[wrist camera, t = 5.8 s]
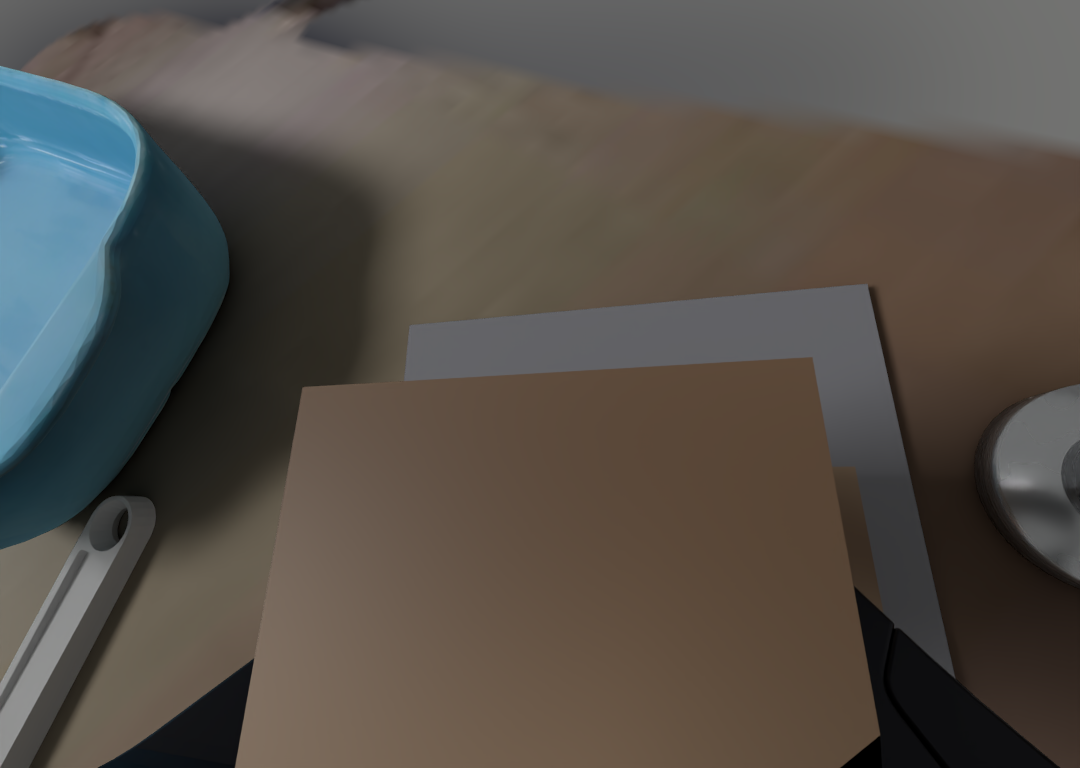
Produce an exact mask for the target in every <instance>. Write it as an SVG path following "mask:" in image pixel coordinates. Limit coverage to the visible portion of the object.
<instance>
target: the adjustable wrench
mask: <svg viewBox="0 0 1080 768" xmlns="http://www.w3.org/2000/svg"><path fill="white" fill-rule="evenodd" d="M126 510H128V518H129V519H128V525H127V528H126V531H125V533H124V535H123V537H122V538H121V540H119V538H118V531H117V530H118V524H119V521H120V519H121V517H122V515H123V514H124V512H125V511H126ZM155 520H156V512H155V507H154V505H153V503H152V502H151V501H150V500H149V499H148V498H146V497H142V496H113V497H110V498H108V499H106V500H104V501H103V502H102V503H101V504H100V505H99V506H97V508H96V509H95V511H94V512H93V514H92V515H91V517H90V519H89V520H88V522H87V524H86V526H85V528H84V530H83V532H82V533H81V535H80V537H79V539H78V541H77V543H76V544H75V546H74V548H73V550H72V552H71V554H70V556H69V557H68V559H67V561H66V563H65V565H64V567H63V568H62V570H61V572H60V574H59V576H58V578H57V580H56V581H55V583H54V585H53V587H52V589H51V591H50V592H49V594H48V596H47V598H46V600H45V602H44V604H43V605H42V607H41V609H40V611H39V613H38V615H37V616H36V618H35V620H34V622H33V624H32V626H31V628H30V629H29V631H28V633H27V635H26V637H25V639H24V640H23V642H22V644H21V646H20V648H19V650H18V652H17V653H16V655H15V657H14V659H13V661H12V663H11V664H10V666H9V668H8V670H7V672H6V674H5V676H4V677H3V679H2V681H1V683H0V768H29V767H30V765H31V763H32V761H33V759H34V757H35V755H36V753H37V751H38V749H39V747H40V746H41V744H42V742H43V740H44V738H45V736H46V734H47V732H48V730H49V728H50V727H51V725H52V723H53V721H54V719H55V717H56V715H57V713H58V711H59V709H60V708H61V706H62V704H63V702H64V700H65V698H66V696H67V694H68V692H69V690H70V689H71V687H72V685H73V683H74V681H75V679H76V677H77V675H78V673H79V671H80V669H81V668H82V666H83V664H84V662H85V660H86V658H87V656H88V654H89V652H90V650H91V649H92V647H93V645H94V643H95V641H96V639H97V637H98V635H99V633H100V631H101V630H102V628H103V626H104V624H105V622H106V620H107V618H108V616H109V614H110V612H111V611H112V609H113V607H114V605H115V603H116V601H117V599H118V597H119V595H120V593H121V592H122V590H123V588H124V586H125V584H126V582H127V580H128V578H129V576H130V574H131V572H132V571H133V569H134V567H135V565H136V563H137V561H138V559H139V557H140V555H141V553H142V552H143V550H144V548H145V546H146V544H147V542H148V540H149V538H150V536H151V534H152V532H153V529H154V526H155Z"/></svg>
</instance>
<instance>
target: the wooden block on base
mask: <svg viewBox="0 0 1080 768" xmlns="http://www.w3.org/2000/svg"><path fill="white" fill-rule="evenodd" d="M853 585H854V586H855V587H856V588H857V589H858V590H859V591H860V592H861V593H862V594H864V595H865V596H866V597H867V598H868V599H869V600H870V601H871V602H872V603H873V604H874V605H875V606H876V607H878V608H879V609H880V610H881V611H882V612H883V607H882V602H881V597H880V592H879V587H878V582H877V577H876V571H875V566H874V561H873V556H872V551H871V546H870V541H869V535H868V530H867V525H866V520H865V515H864V510H863V505H862V500H861V494H860V489H859V484H858V479H857V474H856V469H855V467H832V463H831V458H830V452H829V447H828V441H827V435H826V430H825V424H824V419H823V413H822V408H821V402H820V396H819V391H818V385H817V380H816V374H815V369H814V363H813V357H805V358H788V359H771V360H754V361H737V362H720V363H703V364H686V365H669V366H652V367H635V368H618V369H601V370H584V371H567V372H550V373H533V374H516V375H499V376H482V377H465V378H448V379H431V380H414V381H397V382H380V383H363V384H346V385H329V386H312V387H303V388H302V394H301V399H300V405H299V410H298V416H297V422H296V427H295V433H294V439H293V444H292V450H291V455H290V461H289V467H288V472H287V478H286V484H285V489H284V495H283V500H282V506H281V512H280V517H279V523H278V529H277V534H276V540H275V545H274V551H273V557H272V562H271V568H270V574H269V579H268V585H267V590H266V596H265V602H264V607H263V613H262V619H261V624H260V630H259V635H258V641H257V647H256V652H255V658H254V664H253V669H252V675H251V680H250V686H249V692H248V697H247V703H246V709H245V714H244V720H243V725H242V731H241V737H240V742H239V748H238V754H237V759H236V765H235V768H882V758H881V739H880V731H879V725H878V719H877V714H876V708H875V703H874V697H873V692H872V686H871V680H870V675H869V669H868V664H867V658H866V653H865V647H864V641H863V636H862V630H861V625H860V619H859V614H858V608H857V603H856V597H855V591H854V586H853Z"/></svg>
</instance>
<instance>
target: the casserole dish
mask: <svg viewBox="0 0 1080 768" xmlns="http://www.w3.org/2000/svg"><path fill="white" fill-rule="evenodd" d="M229 274H230V271H229V254H228V244H227V241H226V237H225V234H224V232H223V229H222V227H221V225H220V223H219V221H218V219H217V217H216V216H215V214H214V212H213V211H212V210H211V208H210V207H209V205H208V204H207V202H206V201H205V200H204V198H203V197H202V196H201V195H200V193H199V192H198V191H197V190H196V188H195V187H194V186H193V185H192V183H191V182H190V181H189V180H188V179H187V177H186V176H185V175H184V174H183V173H182V172H181V171H180V169H179V168H178V167H177V166H176V165H175V164H174V163H173V162H172V161H171V159H170V158H169V157H168V156H167V155H166V154H165V153H164V152H163V151H162V149H161V148H160V147H159V146H158V145H157V144H156V143H155V141H154V140H153V139H152V138H151V137H150V135H149V134H148V133H147V132H146V130H145V129H144V128H143V127H142V126H141V124H140V123H139V122H138V121H137V120H136V119H135V118H134V117H133V116H132V115H131V114H130V113H129V112H128V111H127V110H126V109H124V108H123V107H122V106H120V105H119V104H117V103H116V102H114V101H112V100H110V99H108V98H107V97H105V96H103V95H101V94H98V93H95V92H92V91H89V90H87V89H83V88H80V87H77V86H74V85H70V84H67V83H64V82H61V81H57V80H53V79H49V78H45V77H41V76H37V75H33V74H29V73H25V72H22V71H18V70H14V69H10V68H6V67H2V66H0V549H3V548H6V547H9V546H13V545H16V544H19V543H22V542H25V541H27V540H29V539H32V538H34V537H36V536H39V535H41V534H43V533H46V532H48V531H50V530H52V529H54V528H56V527H58V526H60V525H61V524H63V523H65V522H66V521H68V520H69V519H71V518H73V517H74V516H75V515H77V514H78V513H79V512H81V511H82V510H83V509H84V508H85V507H86V506H87V505H88V504H90V503H91V502H92V501H93V500H94V499H95V498H96V497H97V496H98V495H99V494H100V493H101V492H102V491H103V490H104V489H105V488H106V487H107V486H108V485H109V484H110V482H111V481H112V480H113V479H114V478H115V477H116V476H117V475H118V474H119V472H120V471H121V470H122V468H123V467H124V466H125V464H126V463H127V462H128V460H129V459H130V458H131V456H132V455H133V454H134V452H135V450H136V449H137V447H138V446H139V444H140V443H141V441H142V440H143V438H144V437H145V435H146V433H147V432H148V430H149V429H150V427H151V426H152V424H153V423H154V421H155V419H156V418H157V416H158V415H159V413H160V412H161V410H162V409H163V407H164V405H165V403H166V402H167V400H168V398H169V396H170V391H171V389H172V387H173V386H174V385H175V384H176V383H177V382H178V381H179V379H180V378H181V376H182V374H183V373H184V371H185V369H186V368H187V366H188V364H189V363H190V361H191V359H192V358H193V356H194V354H195V353H196V351H197V349H198V347H199V346H200V344H201V342H202V341H203V339H204V337H205V336H206V334H207V332H208V330H209V328H210V326H211V324H212V322H213V321H214V319H215V317H216V315H217V312H218V310H219V308H220V306H221V304H222V301H223V299H224V296H225V293H226V291H227V287H228V284H229Z"/></svg>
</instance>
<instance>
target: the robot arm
mask: <svg viewBox="0 0 1080 768" xmlns="http://www.w3.org/2000/svg"><path fill="white" fill-rule="evenodd" d="M853 586H854V585H853ZM854 591H855V597H856V603H857V608H858V614H859V619H860V625H861V630H862V636H863V641H864V647H865V653H866V658H867V664H868V669H869V675H870V680H871V686H872V692H873V697H874V703H875V708H876V714H877V719H878V725H879V731H880V739H881V758H882V768H1060V767H1059V766H1057V765H1056V764H1055V763H1054V762H1053V761H1051V760H1050V759H1049V758H1048V757H1046V756H1045V755H1044V754H1043V753H1042V752H1040V751H1039V750H1038V749H1037V748H1036V747H1034V746H1033V745H1032V744H1031V743H1030V742H1029V741H1027V740H1026V739H1025V738H1024V737H1023V736H1021V735H1020V734H1019V733H1018V732H1017V731H1015V730H1014V729H1013V728H1012V727H1011V726H1009V725H1008V724H1007V723H1006V722H1005V721H1004V720H1002V719H1001V718H1000V717H999V716H998V715H996V714H995V713H994V712H993V711H992V710H990V709H989V708H988V707H987V706H986V705H985V704H983V703H982V702H981V701H980V700H979V699H977V698H976V697H975V696H974V695H973V694H972V693H971V692H970V691H968V690H967V689H966V688H965V687H964V686H963V685H962V684H961V683H960V682H958V681H957V680H956V679H955V678H954V677H953V676H952V675H951V674H950V673H948V672H947V671H946V670H945V669H944V668H943V667H942V666H941V665H939V664H938V663H937V662H936V661H935V660H934V659H933V658H932V657H931V656H929V655H928V654H927V653H926V652H925V651H924V650H923V649H922V648H921V647H920V646H919V645H918V644H917V643H915V642H914V641H913V640H912V639H911V638H910V637H909V636H908V635H907V634H906V633H905V632H904V631H903V630H901V629H900V628H894V623H893V621H891V620H890V619H889V618H888V617H887V616H886V615H885V614H884V613H883V612H882V611H881V610H880V609H879V608H878V607H876V606H875V605H874V604H873V603H872V602H871V601H870V600H869V599H868V598H867V597H866V596H865V595H864V594H862V593H861V592H860V591H859V590H858V589H857V588H856V587H855V586H854ZM253 664H254V659H252V660H251V661H250V662H249V663H247V664H246V665H245V666H243V667H242V668H240V669H239V670H238V671H236V672H235V673H234V674H232V675H231V676H230V677H228V678H227V679H226V680H224V681H223V682H222V683H220V684H219V685H218V686H216V687H215V688H214V689H212V690H211V691H209V692H208V693H207V694H205V695H204V696H203V697H201V698H200V699H199V700H197V701H196V702H195V703H193V704H192V705H191V706H189V707H188V708H187V709H185V710H184V711H182V712H181V713H180V714H178V715H177V716H176V717H174V718H173V719H172V720H170V721H169V722H168V723H166V724H165V725H164V726H162V727H161V728H160V729H158V730H157V731H156V732H154V733H153V734H151V735H150V736H149V737H147V738H146V739H144V740H143V741H141V742H140V743H139V744H137V745H136V746H134V747H133V748H131V749H129V750H128V751H126V752H125V753H123V754H121V755H120V756H118V757H116V758H115V759H113V760H111V761H109V762H108V763H106V764H104V765H102V766H100V767H98V768H235V765H236V759H237V754H238V748H239V742H240V737H241V731H242V725H243V720H244V714H245V709H246V703H247V697H248V692H249V686H250V680H251V675H252V669H253Z"/></svg>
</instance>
